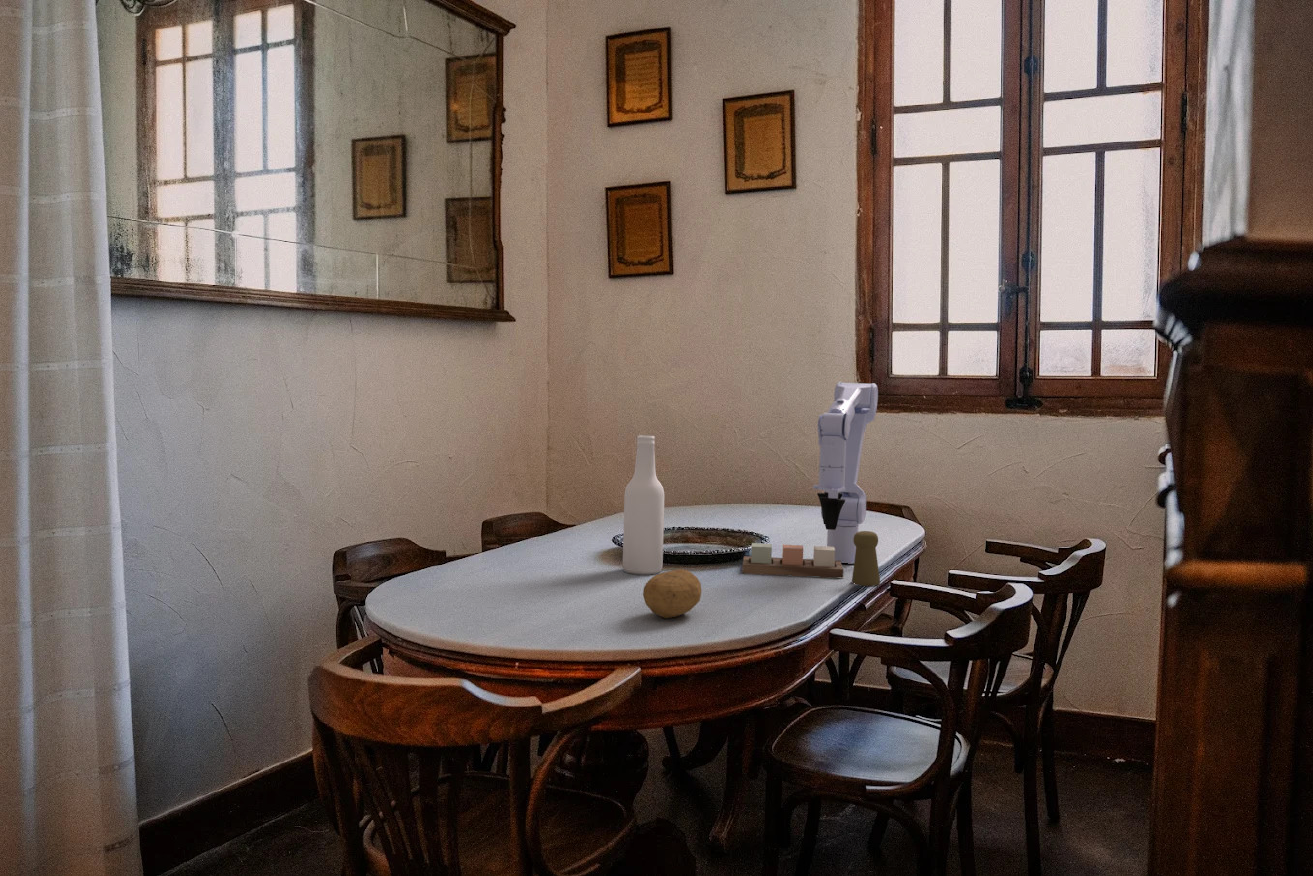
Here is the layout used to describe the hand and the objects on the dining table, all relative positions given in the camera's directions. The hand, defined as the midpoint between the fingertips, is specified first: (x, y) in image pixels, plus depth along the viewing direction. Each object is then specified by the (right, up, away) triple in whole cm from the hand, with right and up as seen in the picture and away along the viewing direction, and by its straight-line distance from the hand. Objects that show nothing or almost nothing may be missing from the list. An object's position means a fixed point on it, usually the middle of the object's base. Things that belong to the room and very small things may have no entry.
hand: (829, 526), depth 231 cm
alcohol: (-42, -10, -3) cm, 43 cm away
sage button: (-15, -8, +2) cm, 17 cm away
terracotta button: (-8, -9, +1) cm, 12 cm away
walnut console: (-8, -10, +1) cm, 13 cm away
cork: (+6, -11, -10) cm, 16 cm away
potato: (-36, -13, -43) cm, 58 cm away
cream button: (-1, -9, 0) cm, 9 cm away
